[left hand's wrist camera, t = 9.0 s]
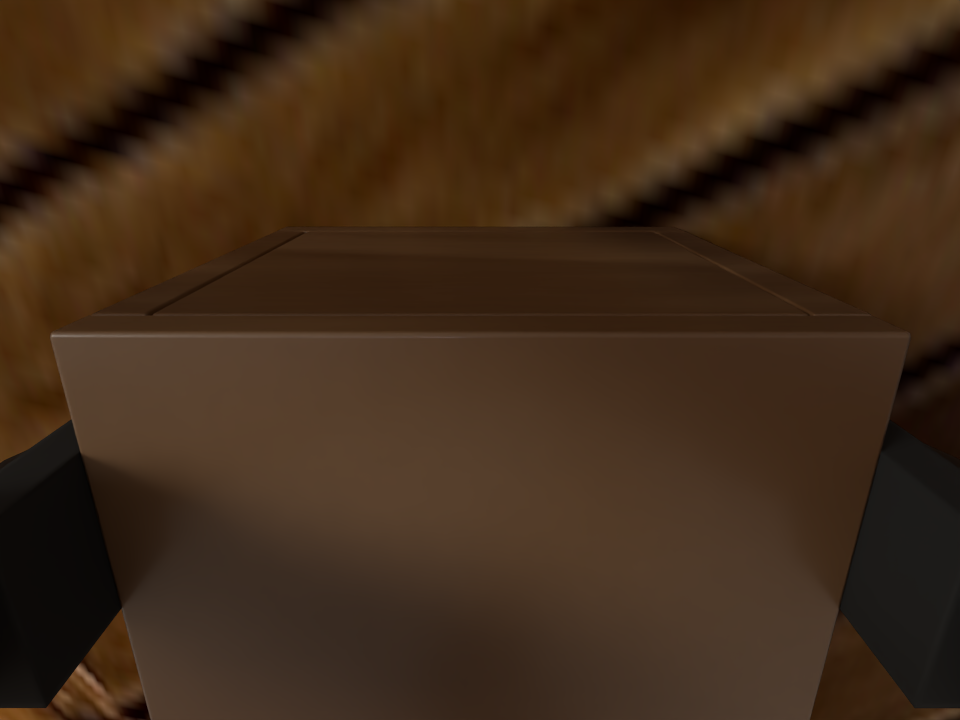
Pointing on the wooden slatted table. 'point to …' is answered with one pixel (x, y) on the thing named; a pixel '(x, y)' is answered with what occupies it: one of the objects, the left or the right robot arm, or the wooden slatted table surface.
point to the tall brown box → (480, 475)
